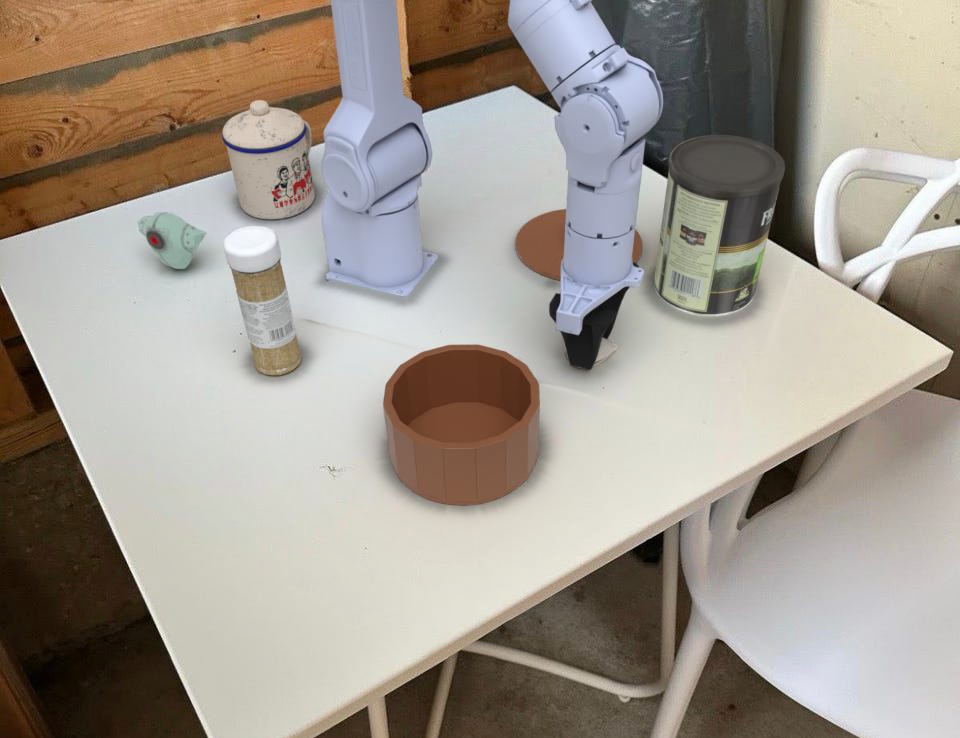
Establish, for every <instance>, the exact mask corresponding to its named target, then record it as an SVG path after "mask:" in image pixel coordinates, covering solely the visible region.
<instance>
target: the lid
mask: <svg viewBox="0 0 960 738" xmlns="http://www.w3.org/2000/svg"><path fill="white" fill-rule="evenodd" d="M565 221H566V208H563V209H562V208H561V209H555V210H551V211H548V212H544V213H541V214H538V215H537V216H535V217H533V218H531V219H529V220H528V221H527V222H526V223H524V224H523V225H522V226H521V228H520V229H519V230H518V232H517V234H516V237H515V251H516V254H517V256H518V258H519V259H520V261H521V262H522V263H523V264H524V265H525V266H526V267H527V268H529V270H531V271H533V272H535V273H536V274H539V275H541V276H543V277H546V278H548V279H552V280H556V281H561V262H562V260H563V258H564V242H565ZM642 251H643V240H642V236H641V235H640V232H638V230H637V229H636V228H635V234H634V243H633V252H632V261H633V262H634V263H636V264H637V263H638V261H639V260H640V258H641V256H642Z"/></svg>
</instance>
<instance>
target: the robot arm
mask: <svg viewBox="0 0 960 738" xmlns="http://www.w3.org/2000/svg"><path fill="white" fill-rule="evenodd" d="M592 1H593V0H509V8H508V15H507V26H508V28H509V30H510V31H511V32H512V34H513V36H514V37H515V39H516V40H517V42H518V44H519V45H520V46H521V48H522V50H523V51H524V53H525V54H526V56H527V57H528V59H529V61H530V62H531V64H532V66H533V67H534V69H535V70H536V73H538V75H539V76H540V79H541V80H542V81H543V84H545V85H544V86H546V88H547V89H548V91H549V92H550V94H551V96H552V97H553V99H554V101H555V102H556V104H557V105H558V107H559V108H560V112H559V113H558V114H555V115H554V117H553V118H554V127H555V132H556V135H557V138H558V140H559V142H560V144H561V145H562V147H563V150H564V152H565V157H566V158H565V161H566V162H565V170H566V171H567V186H566V188H567V189H566V207H565V209H566V221H565V242H564V258H563V260H562V262H561V280H560V293H558V292H555V294H554V296H553V297H552V298H551V300H550V302H549V303H548V304H549V305H548V313H549V317H550V318H551V319H552V321H553V322H554V323H555V330H557V331H559V332H560V334H561V337H562V340H563V344H564V343H565V347H566V351H567V352H566V353H567V354H566V356H568V357H567V359H568V361H569V362H570V363H569V362H568V363H569V365H570V366H572V367H575V366H576V367H575V368H578V367H580V368H579V369H584V370H588V371H590V370H591V371H592V369H593V368H594V367H593V365H594V363H595V361H596V359H597V356H598V352H599V349H600V345H601V341H602V338H605V339H607V340H609V339H608V338H609V337H610V336H611V333H612V331H613V329H614V326H615V323H616V321H617V317H618V314H619V312H620V309H621V305H622V302H623V300H624V297H625V295H626V293H627V292H628V290H629V289H630V288H634V289H635V288H639V287H640V286H641V285H642V282H643V280H644V279H645V278H644V277H645V270H644V269H643V268H641V267H640V266H639V264H637V263H634V262H633V261H632V252H633V243H634V234H635V229H636V226H637V218H638V210H639V200H640V191H641V183H642V175H643V174H642V173H643V166H644V165H643V164H644V156H645V147H646V139H645V138H644V137H643V136H644V135H646V134H648V133H649V132H650V131H651V130H652V128H654V127H655V125H657V123H658V121H659V120H660V118H661V115H662V112H663V109H664V97H663V96H664V94H663V90H662V87H661V84H660V82H659V80H658V78H657V75H656V71H655V70H654V68H652V67H651V65H649V64H648V63H647V62H645V61H644V60H643V59H640V58H638V57H634V56H632V55H630V54H629V53H628V52H627V51H626V48H625V47H621V46H620V45H618V44H617V43H616V41H615V39H614V38H613V37H612V35H611V33H610V32H609V29H608V28H607V27H606V25H605V24H604V22H603V20H602V18H601V17H600V15H599V13H598V11H597V10H596V8H595V6H593V4H592ZM330 5H331V6H330V7H331V15H332V21H333V30H334V39H335V47H336V54H337V55H336V56H337V63H338V70H339V71H338V72H339V79H340V87H341V95H342V98H341V100H340V103H339V104H338V106H337V108H336V109H335V110H334V112H333V114H332V116H331V118H330V119H329V121H328V123H327V124H326V126H325V128H324V130H323V132H322V133H323V139H324V140H323V141H324V151H323V154H322V157H321V173H322V179H323V182H324V185H325V186H326V189H327V191H328V192H327V194H326V196H325V197H324V201H323V205H322V209H321V228H322V235H323V241H324V247H325V253H326V260H327V264H328V266H327V267H328V270H329V271H328V272H327V273H326V274H325V279H326V280H327V281H330V280H336V281H339V282H343V283H346V284H351V285H355V286H359V287H363V288H367V289H371V290H375V291H380V292H383V293H386V294H387V293H388V294H392V295H395V296H399V297H407V296H409V295H410V293H411V292H412V291H413V290H414V288H415V287H416V286H417V284H418V283H419V282H420V281H421V280H422V278H423V277H424V276H425V275H426V273H427V272H428V271H429V270H430V269H431V267H432V266H433V265H434V264H435V262H436V261H437V260H438V258H439V254H437V253H433V252H428V251H424V250H423V243H422V242H423V241H422V240H423V239H422V229H421V227H422V226H421V217H420V204H419V203H420V202H419V201H420V200H419V189H420V188H421V187H422V186H423V181H422V174H424V173H426V171H427V170H428V169H429V168H430V166H431V164H432V160H433V148H432V144H431V140H430V137H429V135H428V132H427V131H426V128H425V124H424V119H423V118H424V117H423V108H422V106H421V105H419V104H418V103H417V102H416V101H414V100H413V99H412V98H410V97H408V96H406V95H404V85H403V73H402V69H403V68H402V55H401V45H400V32H399V17H398V3H397V0H330ZM429 255H431V256H429Z"/></svg>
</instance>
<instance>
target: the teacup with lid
mask: <svg viewBox="0 0 960 738" xmlns="http://www.w3.org/2000/svg"><path fill="white" fill-rule="evenodd" d="M312 135H313V134H312V128H311V126H310V124H309V123H308V122H307V121H306V120H304V119H303V118H302V117H301V116H300V115H299V114H298V113H296V112H295V111H292V110H290V109H287V108H282V107H272V106H269V103H268V101H266V100H265V99H264V100H263V99H262V100H261V99H257V100H254V101H252V102H251V103H250V105H249V109H248V110H245V111H242V112H240V113H237V114H236V115H233V116H232V117H231V118H230V119H228V120H227V121H226V123H225V124H224V126H223V128H222V133H221V139H222V142H223V143H224V144H225V146H226V150H227V155H228V160H229V164H230V167H231V172H232V176H233V180H234V185H235V190H236V194H237V197H238V202H239V206H240V208H241V209H242V210H243V212H245V214H247V215H249V216H250V217H251V216H252V217H254V218H256V219H261V220H282V219H287V218H290V217H294V216H296V215H299V214H301V213H302V212H304V211H306V210H307V209H309V207H310V206H312V204H313V202H314V201H315V195H316V194H315V193H316V192H315V187H314V182H313V175H312V169H311V163H310V157H309V156H310V153H311V150H312V143H313V136H312Z"/></svg>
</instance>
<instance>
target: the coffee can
mask: <svg viewBox="0 0 960 738" xmlns="http://www.w3.org/2000/svg"><path fill="white" fill-rule="evenodd" d="M667 165H668V173H667V174H668V175H667V180H666V181H667V182H666V189H665V196H664V204H663V212H662V220H661V226H660V233H659V240H658V247H657V248H658V249H657V257H656V263H655V271H654V279H653V286H654V289H655V292H656V294H657V295H658V297H659V298H660V299H661V300H662V301H663V302H664V303H666V304H667V305H669V306H671V307H672V308H674V309H676V310H678V311H680V312H681V311H682V312H684V313H688V314H691V315H695V316H704V317H717V316H718V317H719V316H726V315H731V314H734V313H736V312H737V313H738V312H739V311H741V310H743V309H745V308H747V306H748V305H749V304H751V302H752V301H753V299H754V297H755V294H756V291H757V290H756V289H757V285H758V281H759V277H760V272H761V268H762V263H763V259H764V254H765V251H766V245H767V243H768V238H769V234H770V229H771V225H772V220H773V216H774V212H775V209H776V208H775V207H776V203H777V200H778V199H777V198H778V196H779V191H780V186H781V182H782V180H783V178H784V175H785V172H786V163H785V159H784V158H783V156H781V154H780V153H779V152H777V151H776V150H775V149H774V148H772V147H770V146H769V145H767V144H765V143H763V142H760V141H757V140H755V139H752V138H748V137H743V136H739V135H731V134H730V135H729V134H710V135H709V134H708V135H701V136H696V137H693V138H689V139H687V140H684V141H682V142H680V143H679V144H677V145H676V146H674V148H673V149H672V150H671V151H670V153H669V156H668V162H667Z"/></svg>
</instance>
